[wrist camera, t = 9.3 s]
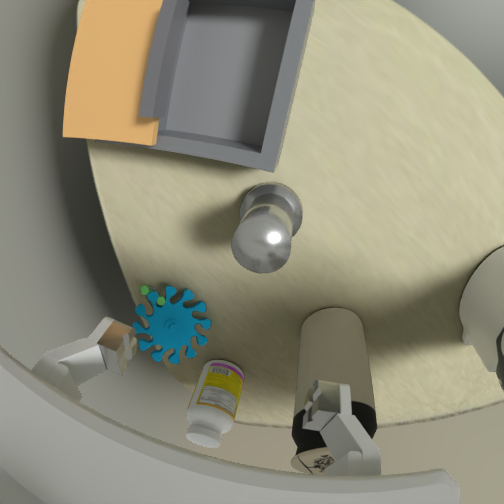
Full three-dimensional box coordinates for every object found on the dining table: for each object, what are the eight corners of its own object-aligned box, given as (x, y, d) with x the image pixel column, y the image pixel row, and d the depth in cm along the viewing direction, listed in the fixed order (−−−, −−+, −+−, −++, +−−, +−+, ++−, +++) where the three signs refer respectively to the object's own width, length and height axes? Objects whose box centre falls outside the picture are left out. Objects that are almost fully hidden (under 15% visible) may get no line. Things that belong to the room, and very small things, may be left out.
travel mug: (361, 301, 31) (384, 443, 15) (362, 346, 34) (374, 471, 18) (296, 310, 33) (280, 452, 17) (305, 353, 36) (294, 477, 21)
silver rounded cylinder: (309, 191, 26) (311, 221, 19) (293, 245, 29) (289, 290, 22) (248, 175, 26) (227, 200, 19) (237, 230, 29) (216, 270, 22)
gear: (226, 337, 35) (162, 380, 31) (211, 326, 40) (156, 363, 36) (182, 263, 32) (111, 307, 29) (173, 261, 38) (112, 298, 34)
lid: (200, -19, 13) (187, -32, 11) (165, 145, 21) (148, 151, 18) (92, -2, 14) (74, -7, 12) (68, 135, 21) (48, 140, 19)
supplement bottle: (223, 386, 43) (203, 451, 32) (195, 364, 42) (168, 431, 30) (254, 377, 41) (237, 449, 29) (225, 352, 39) (200, 427, 28)
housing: (314, 9, 17) (316, -12, 13) (278, 162, 25) (273, 172, 21) (148, 1, 18) (123, -12, 14) (123, 134, 26) (94, 141, 22)
